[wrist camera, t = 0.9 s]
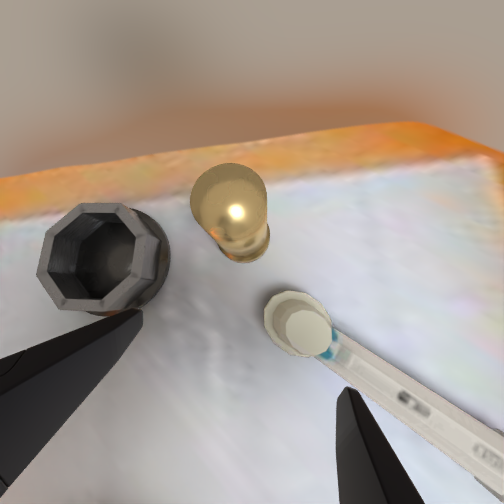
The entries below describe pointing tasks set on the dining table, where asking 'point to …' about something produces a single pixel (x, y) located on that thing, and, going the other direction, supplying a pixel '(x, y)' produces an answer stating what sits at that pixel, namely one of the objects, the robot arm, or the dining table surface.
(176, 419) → the dining table surface
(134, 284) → the collar fitting
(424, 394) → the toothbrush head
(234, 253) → the gold bulb-shaped piece
